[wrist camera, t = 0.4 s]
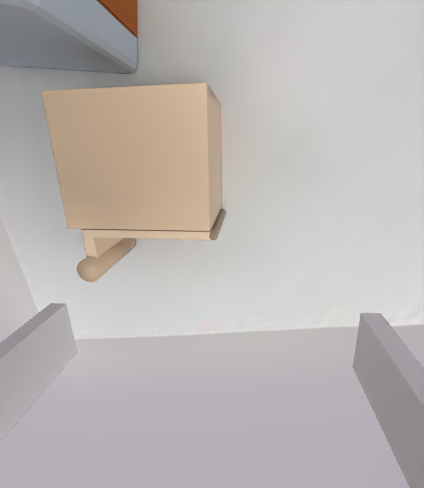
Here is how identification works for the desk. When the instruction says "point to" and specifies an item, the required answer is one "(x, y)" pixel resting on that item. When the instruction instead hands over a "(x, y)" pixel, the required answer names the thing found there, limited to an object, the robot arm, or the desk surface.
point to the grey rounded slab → (69, 34)
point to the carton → (137, 156)
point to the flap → (128, 245)
